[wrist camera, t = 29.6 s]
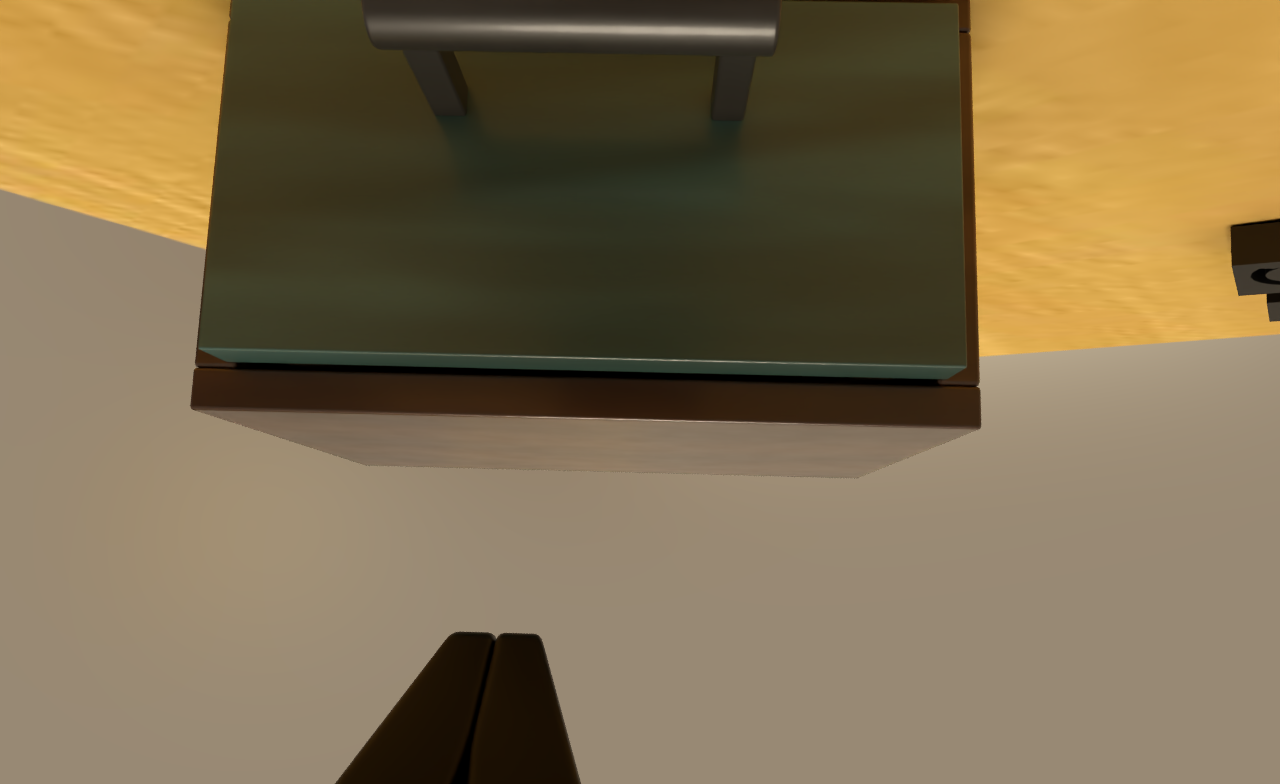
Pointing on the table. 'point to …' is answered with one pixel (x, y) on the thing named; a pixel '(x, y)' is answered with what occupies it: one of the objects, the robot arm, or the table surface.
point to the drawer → (591, 189)
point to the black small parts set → (1258, 263)
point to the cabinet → (614, 402)
